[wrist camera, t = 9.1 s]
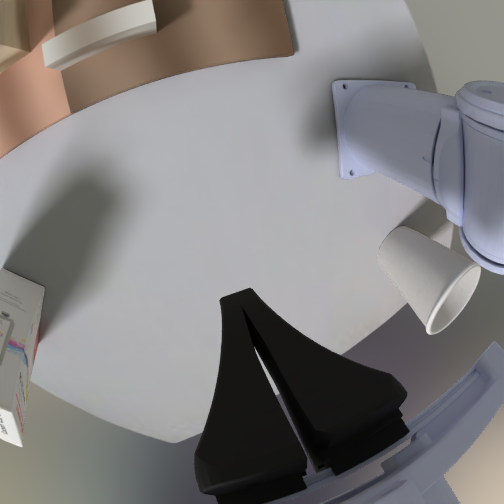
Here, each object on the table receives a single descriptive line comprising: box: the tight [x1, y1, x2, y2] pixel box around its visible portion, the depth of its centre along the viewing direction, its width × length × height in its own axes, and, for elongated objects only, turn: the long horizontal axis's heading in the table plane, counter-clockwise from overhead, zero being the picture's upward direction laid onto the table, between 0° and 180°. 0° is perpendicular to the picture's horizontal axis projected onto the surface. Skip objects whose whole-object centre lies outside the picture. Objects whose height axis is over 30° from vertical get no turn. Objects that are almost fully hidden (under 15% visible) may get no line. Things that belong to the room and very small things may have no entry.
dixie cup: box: [377, 226, 481, 334], centre depth 23 cm, size 8×8×10 cm
